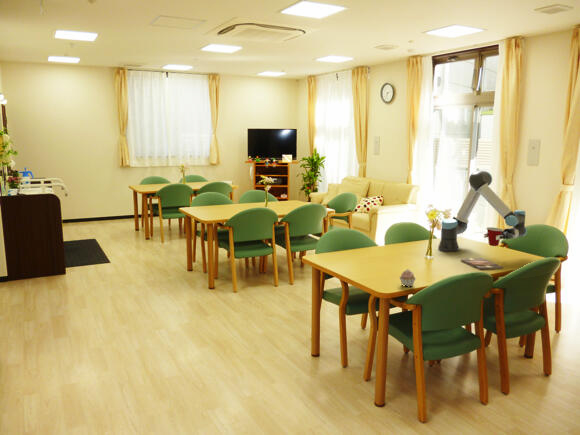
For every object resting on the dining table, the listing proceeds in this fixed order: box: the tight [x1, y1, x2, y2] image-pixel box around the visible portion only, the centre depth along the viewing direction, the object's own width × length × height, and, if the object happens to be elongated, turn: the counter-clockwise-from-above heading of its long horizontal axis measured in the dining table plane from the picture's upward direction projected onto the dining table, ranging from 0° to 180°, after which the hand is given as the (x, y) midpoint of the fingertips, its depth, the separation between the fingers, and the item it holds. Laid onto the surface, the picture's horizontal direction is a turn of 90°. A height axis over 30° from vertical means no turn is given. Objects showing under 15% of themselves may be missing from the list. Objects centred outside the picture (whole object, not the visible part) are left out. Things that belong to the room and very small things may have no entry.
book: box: [460, 257, 504, 271], centre depth 312 cm, size 24×16×2 cm, turn 10°
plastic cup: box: [486, 226, 504, 247], centre depth 319 cm, size 11×11×12 cm
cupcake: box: [399, 268, 417, 287], centre depth 268 cm, size 9×9×10 cm
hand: (490, 236), depth 316 cm, fingers closed on plastic cup, 9 cm apart
